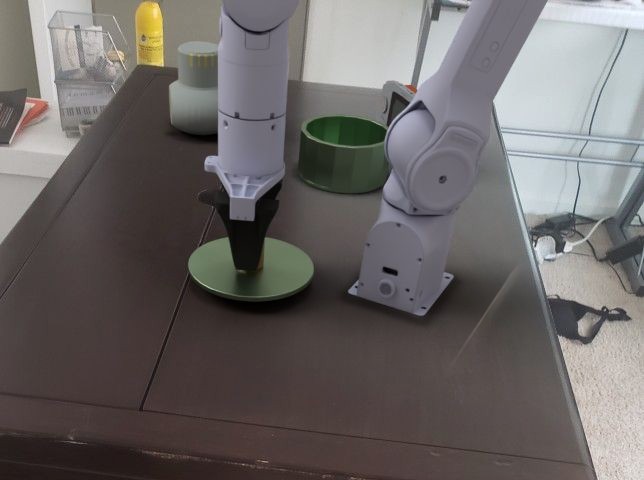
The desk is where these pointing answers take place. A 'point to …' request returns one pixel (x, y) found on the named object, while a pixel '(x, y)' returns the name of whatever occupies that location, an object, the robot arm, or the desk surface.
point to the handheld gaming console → (394, 101)
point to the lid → (261, 285)
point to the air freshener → (195, 89)
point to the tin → (343, 153)
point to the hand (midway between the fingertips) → (247, 261)
